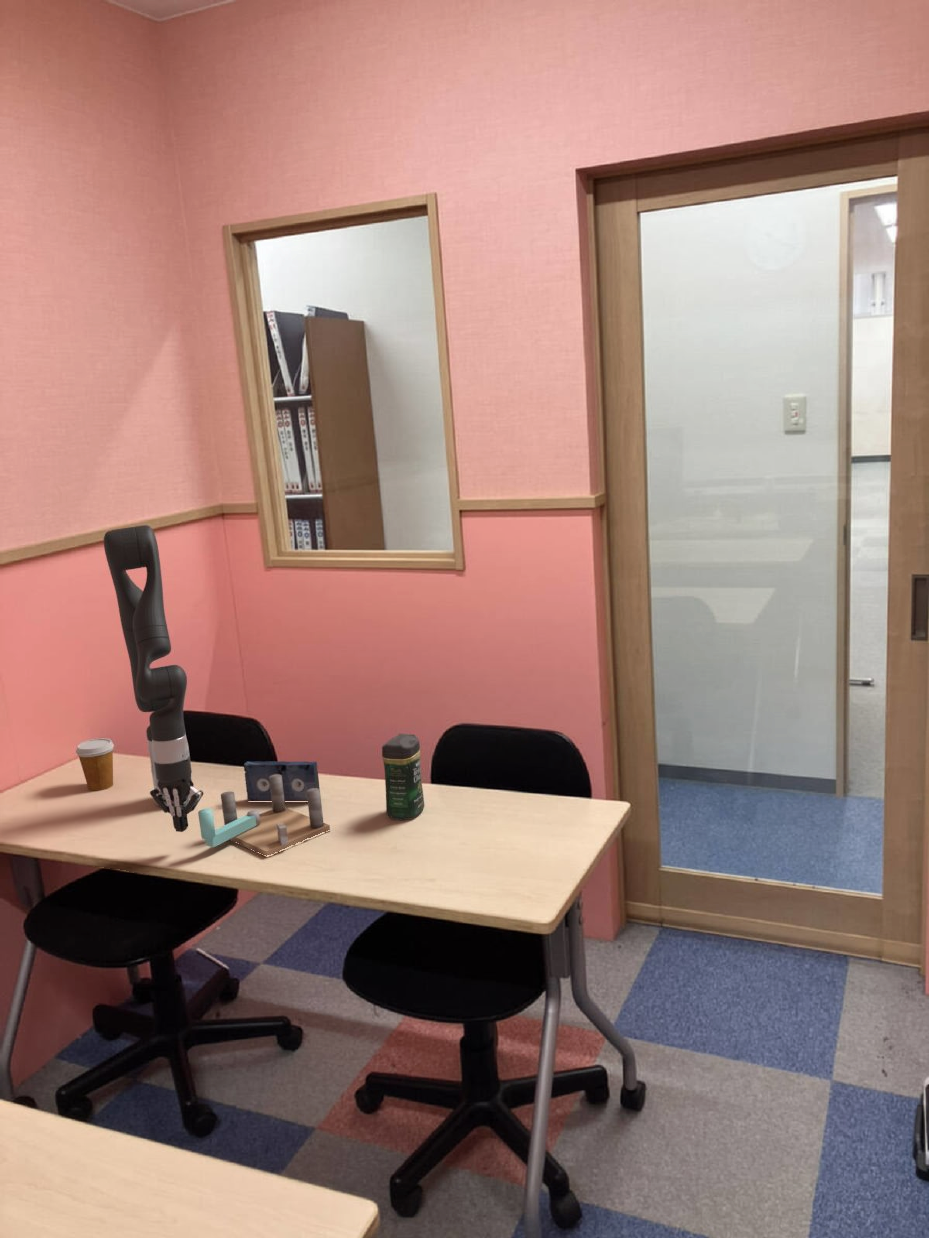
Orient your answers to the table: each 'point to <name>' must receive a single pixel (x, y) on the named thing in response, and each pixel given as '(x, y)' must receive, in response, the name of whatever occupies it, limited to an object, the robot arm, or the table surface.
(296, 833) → the stool seat
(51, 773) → the table surface
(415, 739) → the coffee jar
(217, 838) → the hinged leg
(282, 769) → the vhs cassette tape
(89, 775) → the disposable coffee cup
